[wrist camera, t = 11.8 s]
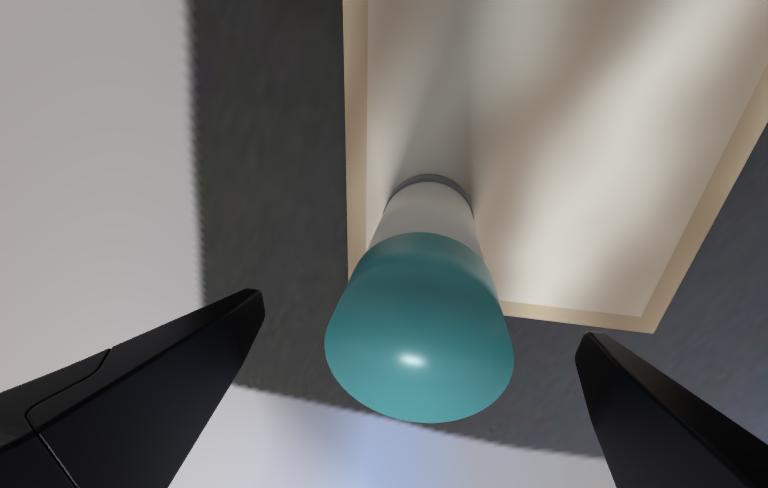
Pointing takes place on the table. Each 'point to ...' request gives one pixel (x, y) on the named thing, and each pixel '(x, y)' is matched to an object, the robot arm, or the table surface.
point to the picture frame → (560, 136)
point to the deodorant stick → (422, 312)
